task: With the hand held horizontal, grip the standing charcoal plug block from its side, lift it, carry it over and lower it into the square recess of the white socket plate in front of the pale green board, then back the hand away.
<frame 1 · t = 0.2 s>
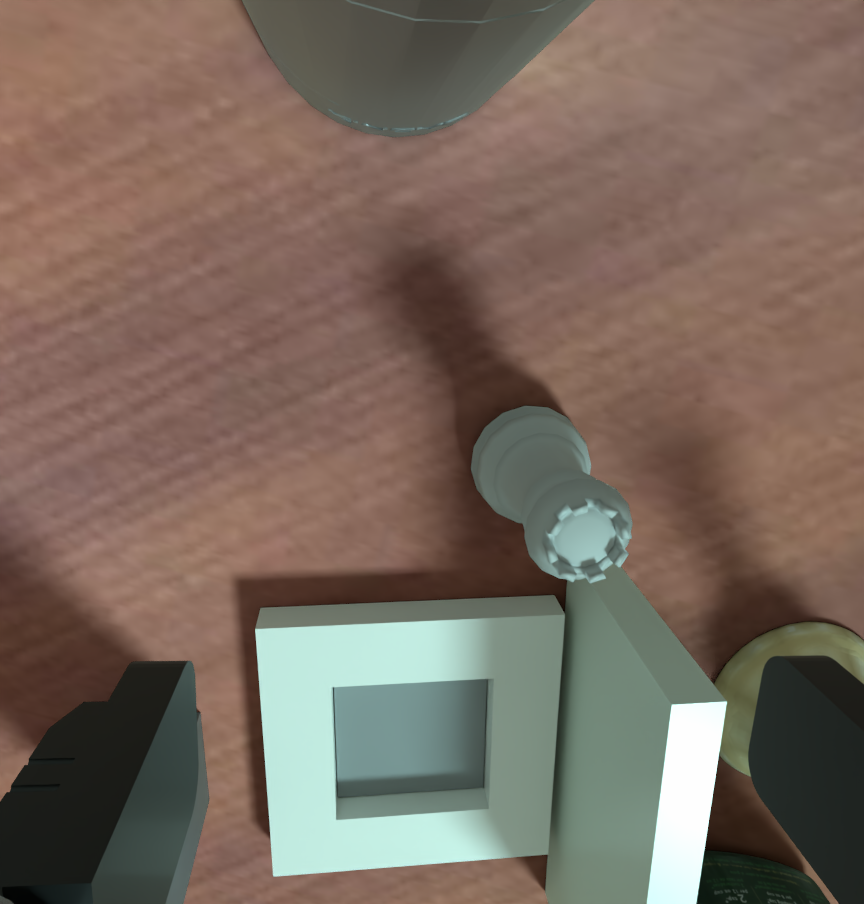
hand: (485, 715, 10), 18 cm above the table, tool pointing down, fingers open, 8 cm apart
plug: (150, 760, 30), on the table
hand bell: (789, 698, 33), on the table
rook chess piece: (524, 456, 28), on the table
coffee jar: (715, 903, 36), on the table
socket: (410, 725, 31), on the table
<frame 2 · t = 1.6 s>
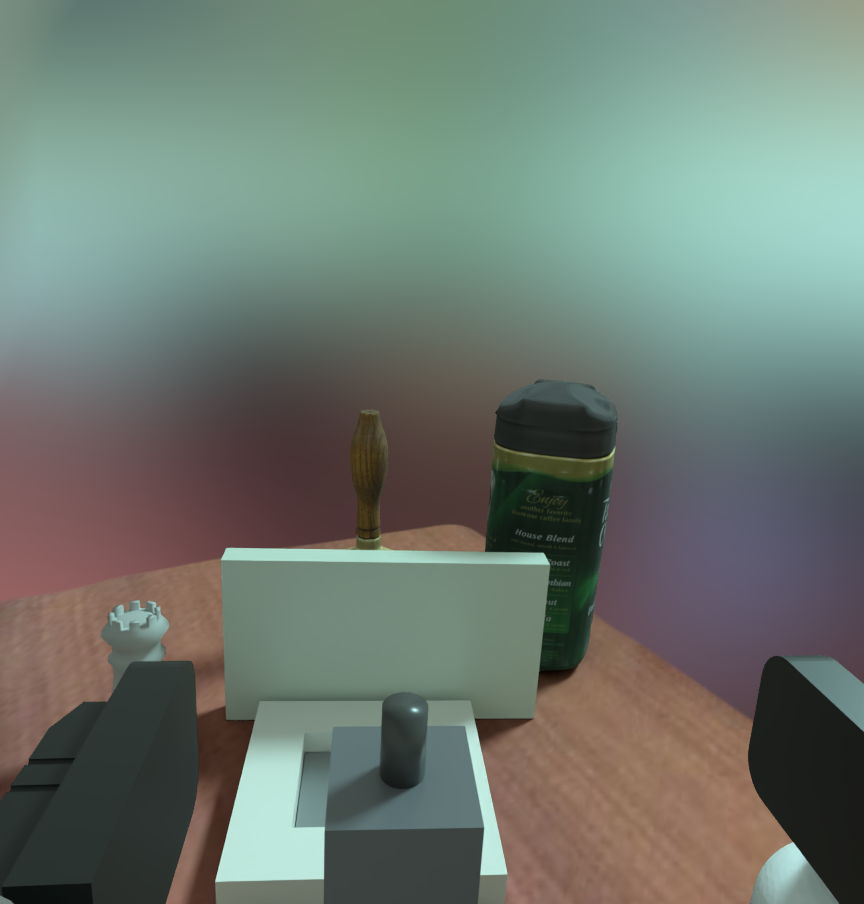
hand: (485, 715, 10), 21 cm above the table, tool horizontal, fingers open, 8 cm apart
hand bell: (367, 627, 53), on the table
rook chess piece: (143, 747, 39), on the table
coffee jar: (534, 641, 52), on the table
socket: (364, 801, 36), on the table
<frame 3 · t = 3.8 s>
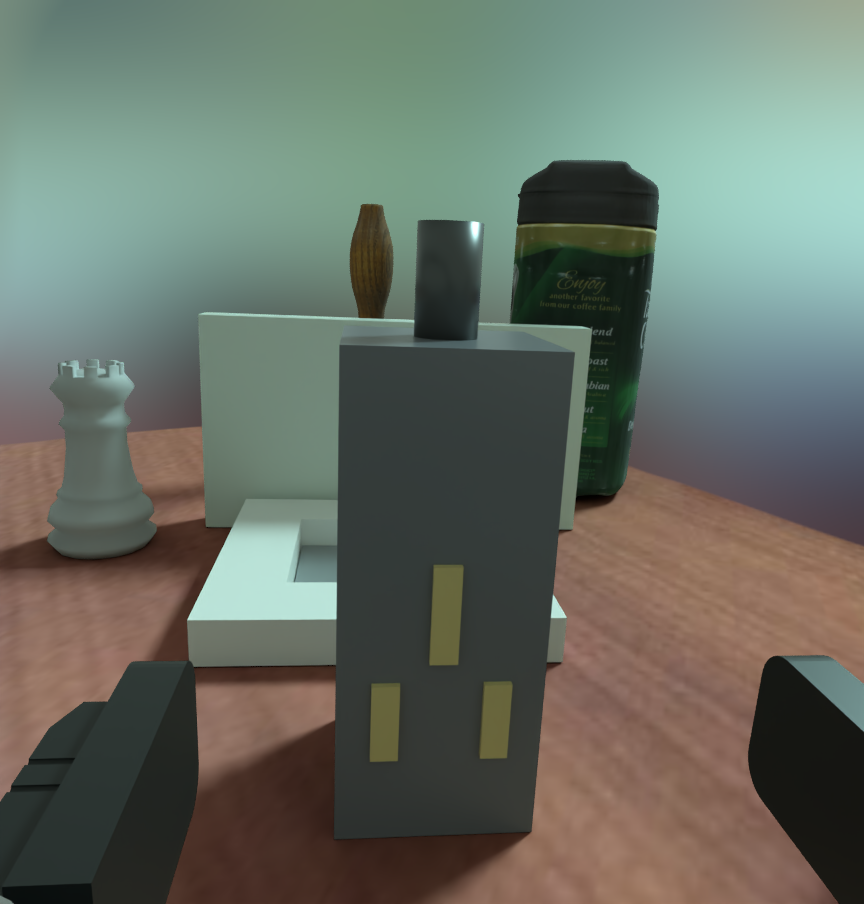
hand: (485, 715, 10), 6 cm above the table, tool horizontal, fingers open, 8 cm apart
plug: (425, 768, 18), on the table
hand bell: (370, 471, 46), on the table
rook chess piece: (104, 546, 32), on the table
coffee jar: (562, 482, 45), on the table
socket: (376, 584, 29), on the table
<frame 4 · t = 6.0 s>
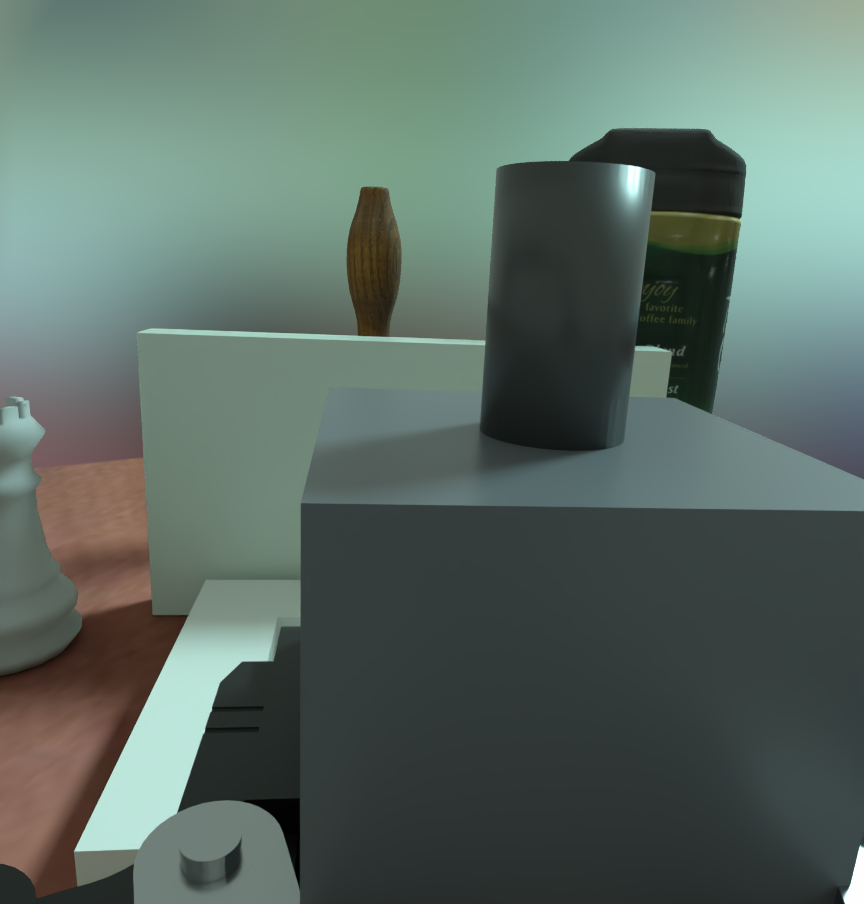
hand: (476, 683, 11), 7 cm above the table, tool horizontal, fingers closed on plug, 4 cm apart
hand bell: (372, 518, 37), on the table
rook chess piece: (8, 651, 23), on the table
coffee jar: (609, 533, 37), on the table
socket: (382, 722, 20), on the table
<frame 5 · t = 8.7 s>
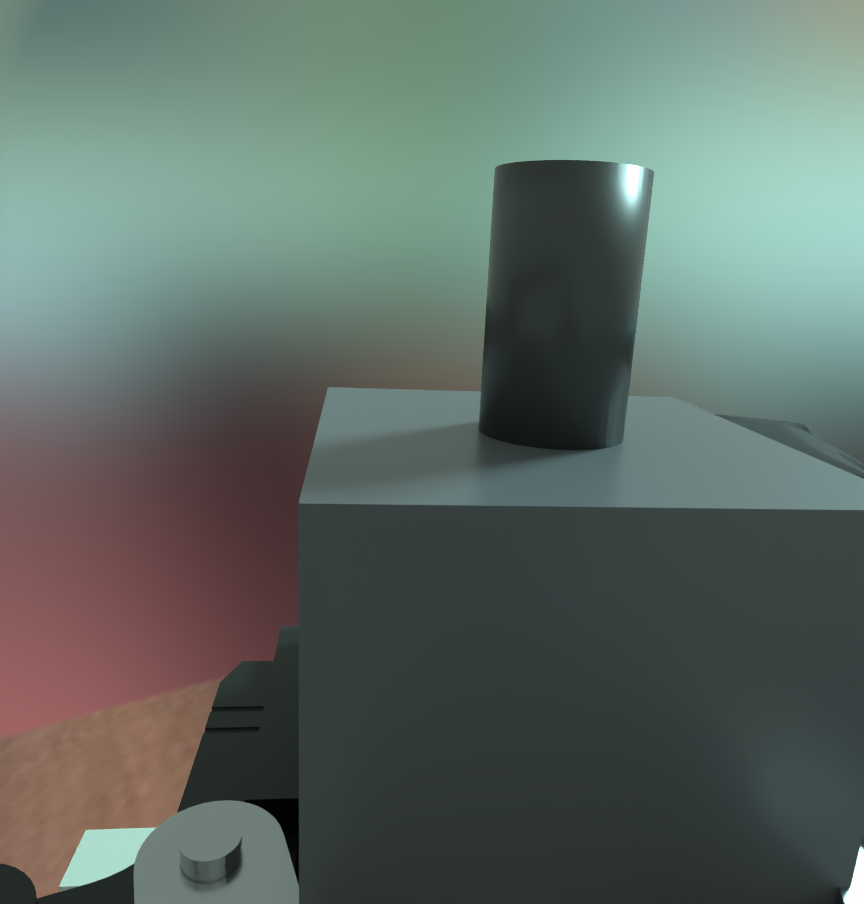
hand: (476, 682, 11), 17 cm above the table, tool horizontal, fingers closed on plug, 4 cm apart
coffee jar: (693, 883, 29), on the table
when the fingers open (7 cm above the table, at t = 11.2 s): plug stays where it is, resting on socket.
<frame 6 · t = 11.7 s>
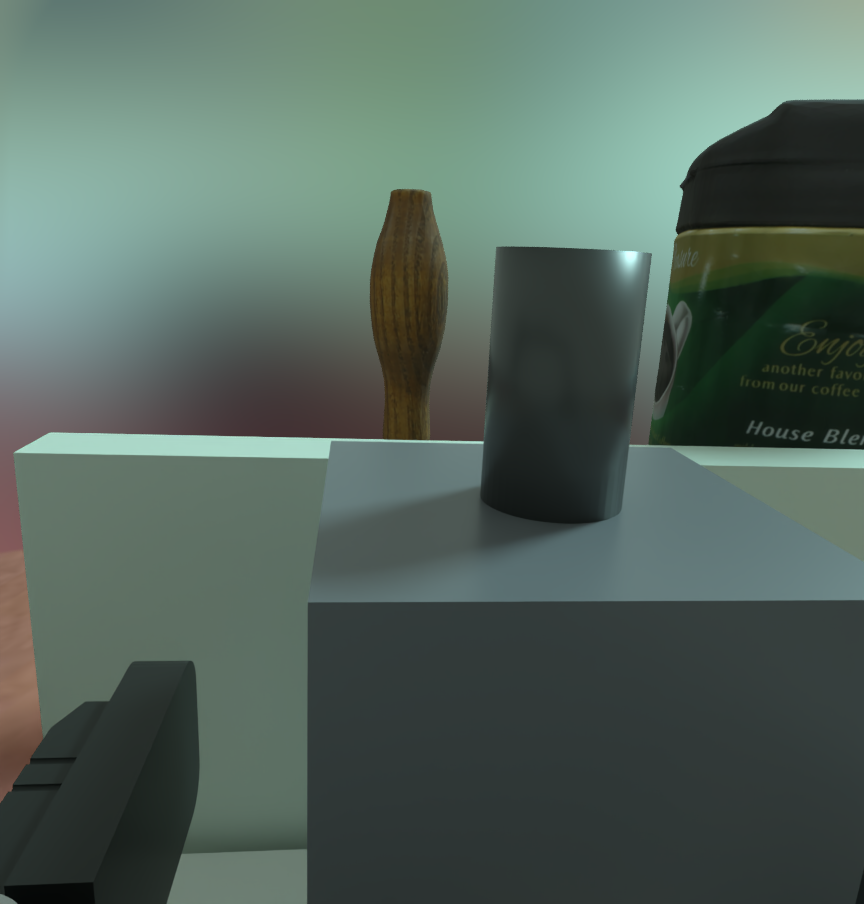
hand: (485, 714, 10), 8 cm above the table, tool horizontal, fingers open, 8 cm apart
hand bell: (401, 646, 27), on the table
coffee jar: (732, 670, 26), on the table
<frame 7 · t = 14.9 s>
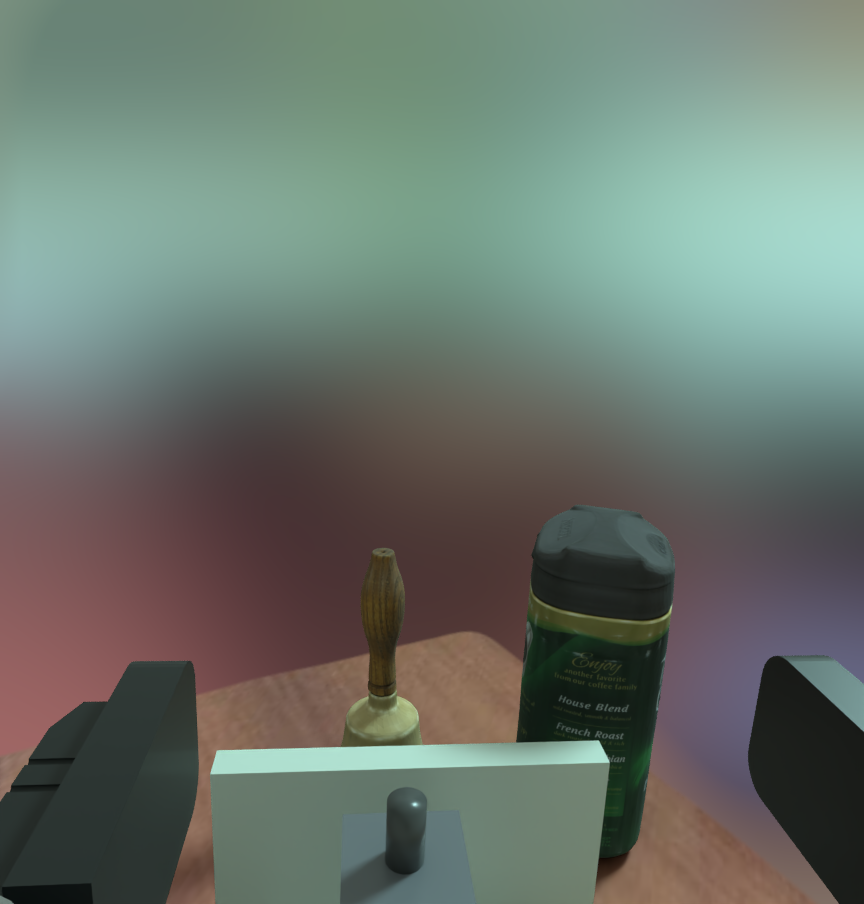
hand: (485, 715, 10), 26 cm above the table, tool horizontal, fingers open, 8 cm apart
hand bell: (381, 791, 45), on the table
coffee jar: (575, 807, 45), on the table
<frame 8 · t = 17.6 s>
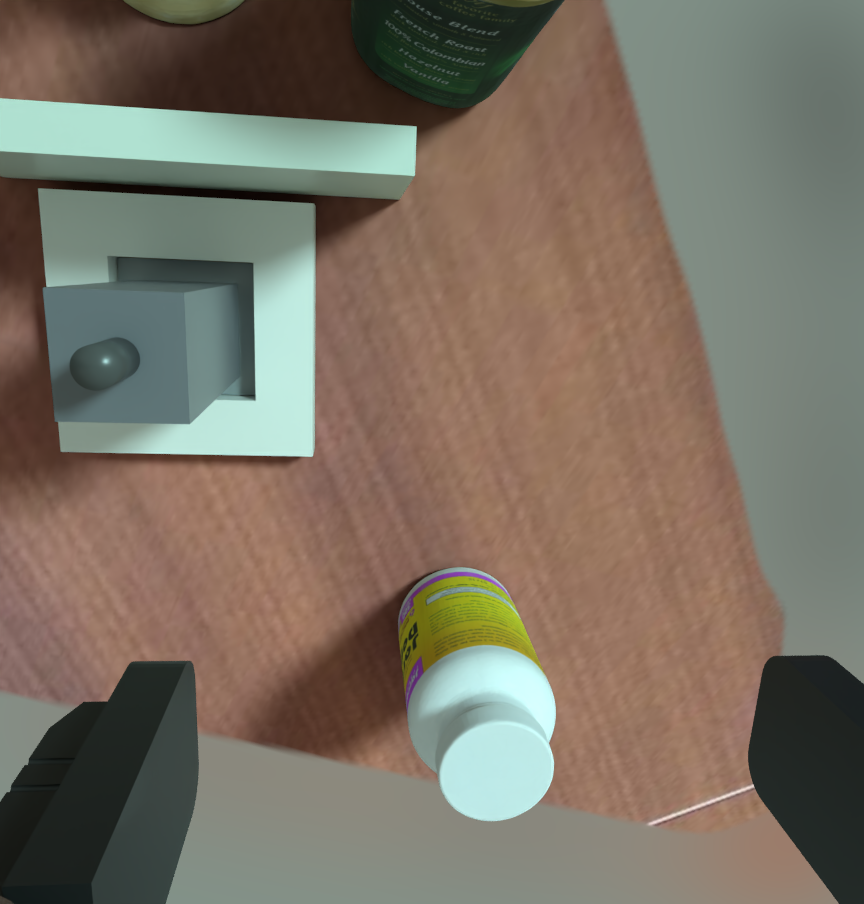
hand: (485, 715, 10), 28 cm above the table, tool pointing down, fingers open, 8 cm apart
plug: (191, 329, 35), resting on socket
socket: (191, 327, 35), on the table
supplement bottle: (455, 615, 41), on the table
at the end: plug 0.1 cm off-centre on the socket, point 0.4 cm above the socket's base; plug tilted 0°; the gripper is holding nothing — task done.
